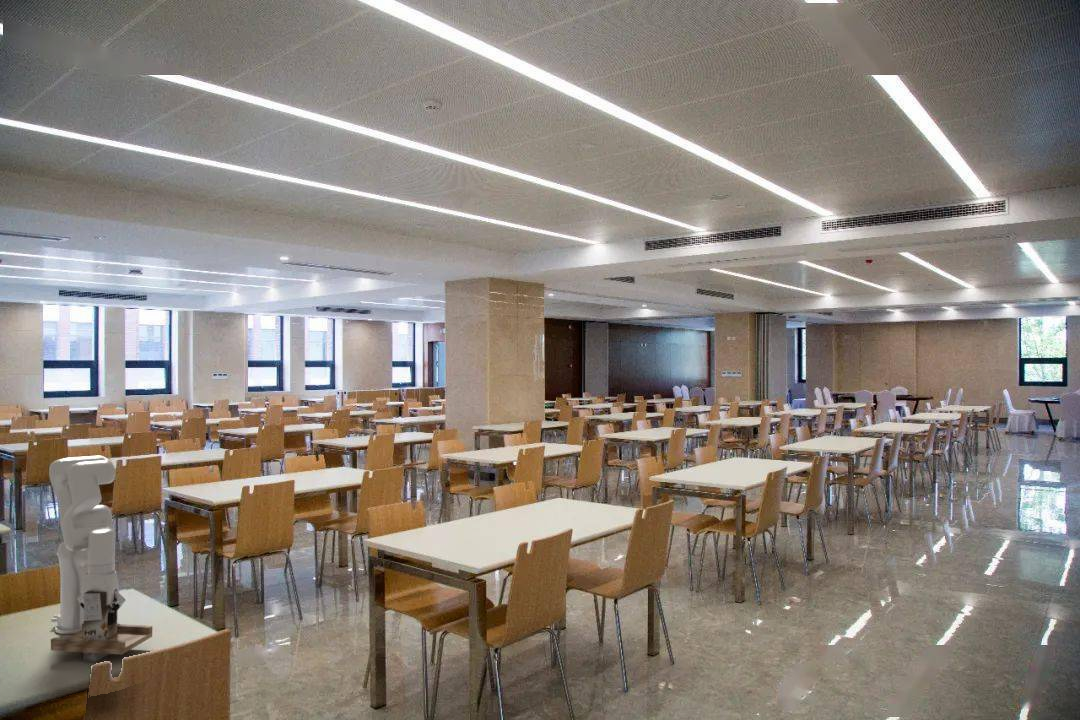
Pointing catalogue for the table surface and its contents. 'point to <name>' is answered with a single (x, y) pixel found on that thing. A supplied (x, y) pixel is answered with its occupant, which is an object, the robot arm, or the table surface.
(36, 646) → the table surface
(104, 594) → the coffee box
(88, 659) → the brown wooden tray
